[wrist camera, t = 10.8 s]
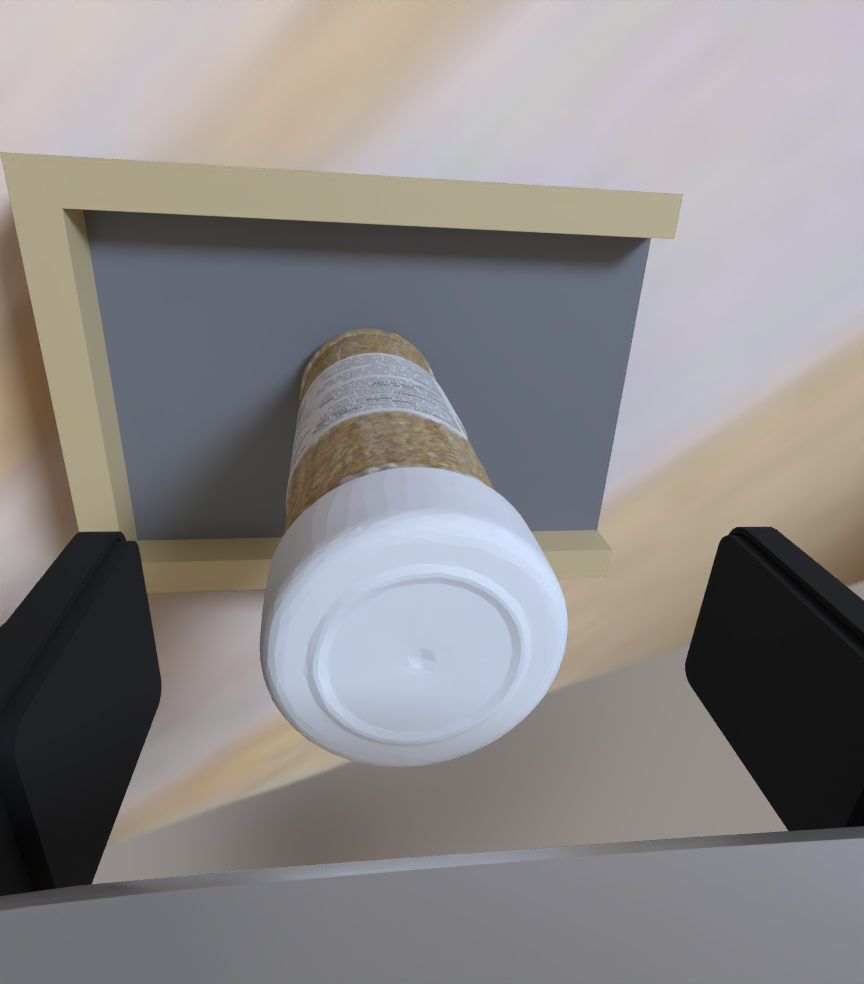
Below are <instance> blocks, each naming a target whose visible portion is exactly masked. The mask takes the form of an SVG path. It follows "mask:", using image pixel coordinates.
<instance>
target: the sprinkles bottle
mask: <svg viewBox="0 0 864 984" xmlns="http://www.w3.org/2000/svg"><path fill="white" fill-rule="evenodd" d="M299 402H300V408H299V412H298V417H297V424H296V430H295V437H294V445H293V452H292V459H291V466H290V473H289V480H288V487H287V495H286V513H287V520H286V529H285V534H284V536H283V538H282V539H281V541H280V543H279V545H278V547H277V549H276V551H275V553H274V556H273V558H272V562H271V565H270V568H269V571H268V578H267V584H266V591H265V598H264V604H263V613H262V624H261V635H260V660H261V666H262V671H263V676H264V679H265V682H266V685H267V688H268V690H269V692H270V695H271V697H272V700H273V701H274V703H275V704H276V706H277V708H278V709H279V711H280V712H281V713H282V715H283V716H284V717H285V719H286V720H287V721H288V722H289V723H290V724H291V725H292V726H293V727H294V728H295V729H296V730H297V731H298V732H299V733H301V734H302V735H303V736H304V737H305V738H307V739H308V740H309V741H311V742H313V743H314V744H316V745H318V746H319V747H321V748H323V749H324V750H327V751H329V752H331V753H333V754H335V755H338V756H340V757H343V758H346V759H349V760H352V761H356V762H360V763H365V764H372V765H378V766H386V767H388V766H389V767H409V766H421V765H428V764H434V763H439V762H443V761H447V760H450V759H454V758H457V757H460V756H463V755H466V754H468V753H471V752H473V751H475V750H478V749H480V748H482V747H484V746H486V745H488V744H489V743H491V742H493V741H495V740H496V739H498V738H499V737H501V736H502V735H504V734H505V733H507V732H508V731H510V730H511V729H512V728H513V727H515V726H516V725H517V724H518V723H520V722H521V721H522V720H523V719H524V718H525V717H526V716H527V715H528V714H529V713H530V712H531V711H532V710H533V709H534V708H535V707H536V706H537V704H538V703H539V702H540V701H541V699H542V698H543V697H544V695H545V694H546V693H547V691H548V689H549V688H550V686H551V684H552V682H553V680H554V678H555V676H556V674H557V673H558V670H559V667H560V664H561V661H562V658H563V655H564V651H565V646H566V640H567V627H568V624H567V611H566V604H565V600H564V596H563V593H562V590H561V587H560V584H559V582H558V580H557V578H556V576H555V574H554V572H553V570H552V568H551V566H550V564H549V562H548V561H547V559H546V557H545V555H544V553H543V552H542V550H541V548H540V546H539V544H538V542H537V541H536V539H535V537H534V536H533V534H532V532H531V531H530V529H529V527H528V526H527V524H526V522H525V521H524V519H523V518H522V517H521V515H520V514H519V513H518V511H517V510H516V509H515V508H514V507H513V506H512V505H511V504H510V503H509V502H508V501H507V500H506V499H505V498H504V497H503V496H502V495H500V494H499V493H497V492H496V491H495V490H494V487H493V486H492V484H491V482H490V480H489V478H488V476H487V474H486V471H485V469H484V467H483V466H482V464H481V462H480V461H479V459H478V457H477V456H476V454H475V452H474V450H473V447H472V446H471V444H470V442H469V440H468V437H467V433H466V431H465V429H464V427H463V425H462V423H461V421H460V419H459V418H458V416H457V414H456V412H455V411H454V409H453V407H452V405H451V404H450V402H449V400H448V399H447V397H446V395H445V393H444V392H443V390H442V388H441V387H440V385H439V384H438V383H437V382H436V379H435V376H434V373H433V371H432V369H431V367H430V365H429V363H428V361H427V360H426V359H425V357H424V356H423V355H422V354H421V352H420V351H419V350H418V349H417V348H416V347H415V346H413V345H412V344H411V343H409V342H408V341H406V340H405V339H404V338H402V337H401V336H399V335H398V334H396V333H391V332H386V331H383V330H380V329H365V328H361V329H356V330H351V331H347V332H343V333H341V334H339V335H338V336H336V337H334V338H332V339H330V340H329V341H327V342H326V343H325V344H324V345H323V346H321V347H320V348H319V349H318V350H317V351H316V353H315V354H314V355H313V356H312V358H311V359H310V360H309V362H308V364H307V366H306V368H305V370H304V372H303V377H302V382H301V384H300V396H299Z"/></svg>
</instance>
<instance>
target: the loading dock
mask: <svg viewBox="0 0 864 984" xmlns="http://www.w3.org/2000/svg"><path fill="white" fill-rule="evenodd" d="M0 155H1V160H2V164H3V169H4V174H5V179H6V184H7V188H8V193H9V198H10V203H11V208H12V212H13V217H14V222H15V227H16V232H17V236H18V241H19V246H20V251H21V256H22V260H23V265H24V270H25V275H26V280H27V284H28V289H29V294H30V299H31V304H32V308H33V313H34V318H35V323H36V328H37V333H38V337H39V342H40V347H41V352H42V357H43V361H44V366H45V371H46V376H47V381H48V385H49V390H50V395H51V400H52V405H53V409H54V414H55V419H56V424H57V429H58V433H59V438H60V443H61V448H62V453H63V457H64V462H65V467H66V472H67V477H68V481H69V486H70V491H71V496H72V501H73V506H74V510H75V515H76V520H77V525H78V530H79V532H108V531H121V532H122V533H123V534H124V536H125V538H126V541H135V542H137V544H138V546H139V550H140V556H141V562H142V568H143V574H144V580H145V586H146V592H147V594H150V593H178V592H207V591H235V590H264V589H266V584H267V578H268V571H269V568H270V565H271V562H272V558H273V556H274V553H275V551H276V549H277V547H278V545H279V543H280V541H281V539H282V538H283V536H284V534H285V529H286V520H287V513H286V495H287V487H288V480H289V473H290V466H291V459H292V452H293V445H294V437H295V430H296V424H297V417H298V412H299V408H300V402H299V396H300V384H301V382H302V377H303V372H304V370H305V368H306V366H307V364H308V362H309V360H310V359H311V358H312V356H313V355H314V354H315V353H316V351H317V350H318V349H319V348H320V347H321V346H323V345H324V344H325V343H326V342H327V341H329V340H330V339H332V338H334V337H336V336H338V335H339V334H341V333H343V332H347V331H351V330H356V329H361V328H365V329H380V330H383V331H386V332H391V333H396V334H398V335H399V336H401V337H402V338H404V339H405V340H406V341H408V342H409V343H411V344H412V345H413V346H415V347H416V348H417V349H418V350H419V351H420V352H421V354H422V355H423V356H424V357H425V359H426V360H427V361H428V363H429V365H430V367H431V369H432V371H433V373H434V376H435V379H436V382H437V383H438V384H439V385H440V387H441V388H442V390H443V392H444V393H445V395H446V397H447V399H448V400H449V402H450V404H451V405H452V407H453V409H454V411H455V412H456V414H457V416H458V418H459V419H460V421H461V423H462V425H463V427H464V429H465V431H466V433H467V437H468V440H469V442H470V444H471V446H472V447H473V450H474V452H475V454H476V456H477V457H478V459H479V461H480V462H481V464H482V466H483V467H484V469H485V471H486V474H487V476H488V478H489V480H490V482H491V484H492V486H493V487H494V490H495V491H496V492H497V493H499V494H500V495H502V496H503V497H504V498H505V499H506V500H507V501H508V502H509V503H510V504H511V505H512V506H513V507H514V508H515V509H516V510H517V511H518V513H519V514H520V515H521V517H522V518H523V519H524V521H525V522H526V524H527V526H528V527H529V529H530V531H531V532H532V534H533V536H534V537H535V539H536V541H537V542H538V544H539V546H540V548H541V550H542V552H543V553H544V555H545V557H546V559H547V561H548V562H549V564H550V566H551V568H552V570H553V572H554V574H555V576H556V578H557V579H577V578H606V577H607V573H608V568H609V563H610V558H611V553H612V549H611V548H610V546H609V545H608V544H607V542H606V541H605V540H604V539H603V537H602V536H601V535H600V533H599V532H598V531H597V527H598V521H599V516H600V510H601V505H602V500H603V494H604V489H605V483H606V478H607V472H608V467H609V462H610V456H611V451H612V445H613V440H614V435H615V429H616V424H617V418H618V413H619V408H620V402H621V397H622V391H623V386H624V381H625V375H626V370H627V364H628V359H629V354H630V348H631V343H632V337H633V332H634V327H635V321H636V316H637V310H638V305H639V300H640V294H641V289H642V283H643V278H644V273H645V267H646V262H647V256H648V251H649V246H650V240H651V238H662V239H674V237H675V232H676V227H677V222H678V217H679V212H680V207H681V202H682V197H683V194H669V193H653V192H637V191H621V190H605V189H588V188H572V187H556V186H540V185H524V184H507V183H491V182H475V181H459V180H443V179H427V178H410V177H394V176H378V175H362V174H346V173H329V172H313V171H297V170H281V169H265V168H248V167H232V166H216V165H200V164H184V163H167V162H151V161H135V160H119V159H103V158H87V157H70V156H54V155H38V154H22V153H6V152H0Z"/></svg>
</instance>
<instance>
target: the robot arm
mask: <svg viewBox="0 0 864 984" xmlns="http://www.w3.org/2000/svg"><path fill="white" fill-rule="evenodd" d="M685 671H686V676H687V679H688V682H689V684H690V685H691V687H692V688H693V690H694V691H695V693H696V694H697V696H698V697H699V699H700V700H701V702H702V703H703V705H704V706H705V708H706V709H707V710H708V712H709V714H710V715H711V717H712V718H713V720H714V721H715V723H716V724H717V726H718V727H719V728H720V730H721V731H722V733H723V734H724V736H725V737H726V739H727V740H728V742H729V743H730V745H731V746H732V748H733V749H734V751H735V752H736V754H737V755H738V757H739V758H740V760H741V761H742V763H743V764H744V765H745V767H746V769H747V770H748V771H749V773H750V774H751V776H752V777H753V779H754V780H755V782H756V783H757V785H758V786H759V788H760V789H761V791H762V792H763V794H764V795H765V797H766V798H767V800H768V801H769V802H770V804H771V806H772V807H773V809H774V810H775V812H776V813H777V815H778V816H779V817H780V818H781V820H782V822H783V823H784V825H785V826H786V828H787V829H788V831H786V832H785V831H784V832H770V833H755V834H738V835H723V836H708V837H693V838H679V839H664V840H649V841H635V842H621V843H606V844H591V845H577V846H564V847H550V848H537V849H536V848H535V849H522V850H508V851H494V852H480V853H467V854H452V855H438V856H426V857H412V858H399V859H386V860H374V861H361V862H347V863H334V864H321V865H308V866H295V867H282V868H269V869H256V870H243V871H231V872H219V873H209V874H199V875H187V876H176V877H166V878H155V879H144V880H134V881H124V882H112V883H101V884H92V881H93V879H94V876H95V873H96V871H97V868H98V865H99V863H100V860H101V857H102V854H103V852H104V849H105V847H106V844H107V841H108V839H109V836H110V833H111V831H112V828H113V825H114V823H115V820H116V817H117V815H118V812H119V809H120V807H121V804H122V801H123V799H124V796H125V793H126V791H127V788H128V785H129V783H130V780H131V777H132V775H133V772H134V769H135V767H136V764H137V761H138V759H139V756H140V753H141V751H142V748H143V745H144V743H145V740H146V737H147V735H148V732H149V729H150V727H151V724H152V721H153V718H154V716H155V713H156V710H157V708H158V705H159V702H160V696H161V676H160V670H159V664H158V658H157V652H156V646H155V640H154V634H153V628H152V622H151V616H150V610H149V604H148V598H147V592H146V586H145V580H144V574H143V568H142V562H141V556H140V550H139V546H138V544H137V542H135V541H126V538H125V536H124V534H123V533H122V532H121V531H108V532H78V533H77V534H76V535H75V536H74V537H73V539H72V540H71V541H70V542H69V544H68V545H67V546H66V547H65V549H64V550H63V551H62V552H61V554H60V555H59V556H58V557H57V559H56V560H55V561H54V562H53V564H52V565H51V566H50V567H49V569H48V570H47V571H46V573H45V574H44V575H43V576H42V578H41V579H40V580H39V581H38V583H37V584H36V585H35V586H34V588H33V589H32V590H31V591H30V593H29V594H28V595H27V596H26V598H25V599H24V600H23V601H22V603H21V604H20V605H19V607H18V608H17V609H16V610H15V612H14V613H13V614H12V615H11V617H10V618H9V619H8V620H7V622H6V623H4V624H3V625H2V626H1V627H0V984H864V601H863V600H862V599H861V598H860V597H859V596H857V595H856V594H855V593H853V592H852V591H851V590H850V589H849V588H848V587H846V586H845V585H844V584H843V583H841V582H840V581H839V580H838V579H836V578H835V577H834V576H833V575H832V574H830V573H829V572H828V571H827V570H825V569H824V568H823V567H822V566H821V565H819V564H818V563H817V562H816V561H814V560H813V559H812V558H811V557H809V556H808V555H807V554H806V553H805V552H803V551H802V550H801V549H800V548H798V547H797V546H796V545H795V544H793V543H792V542H791V541H790V540H789V539H787V538H786V537H785V536H784V535H782V534H781V533H780V532H779V531H778V530H776V529H774V528H772V527H736V528H734V529H733V530H732V531H731V532H730V533H729V535H728V536H725V537H723V538H722V539H721V541H720V543H719V546H718V549H717V553H716V556H715V560H714V563H713V567H712V570H711V574H710V577H709V581H708V584H707V588H706V592H705V595H704V599H703V602H702V606H701V609H700V613H699V616H698V620H697V623H696V627H695V630H694V634H693V637H692V641H691V644H690V648H689V651H688V655H687V659H686V663H685Z"/></svg>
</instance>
